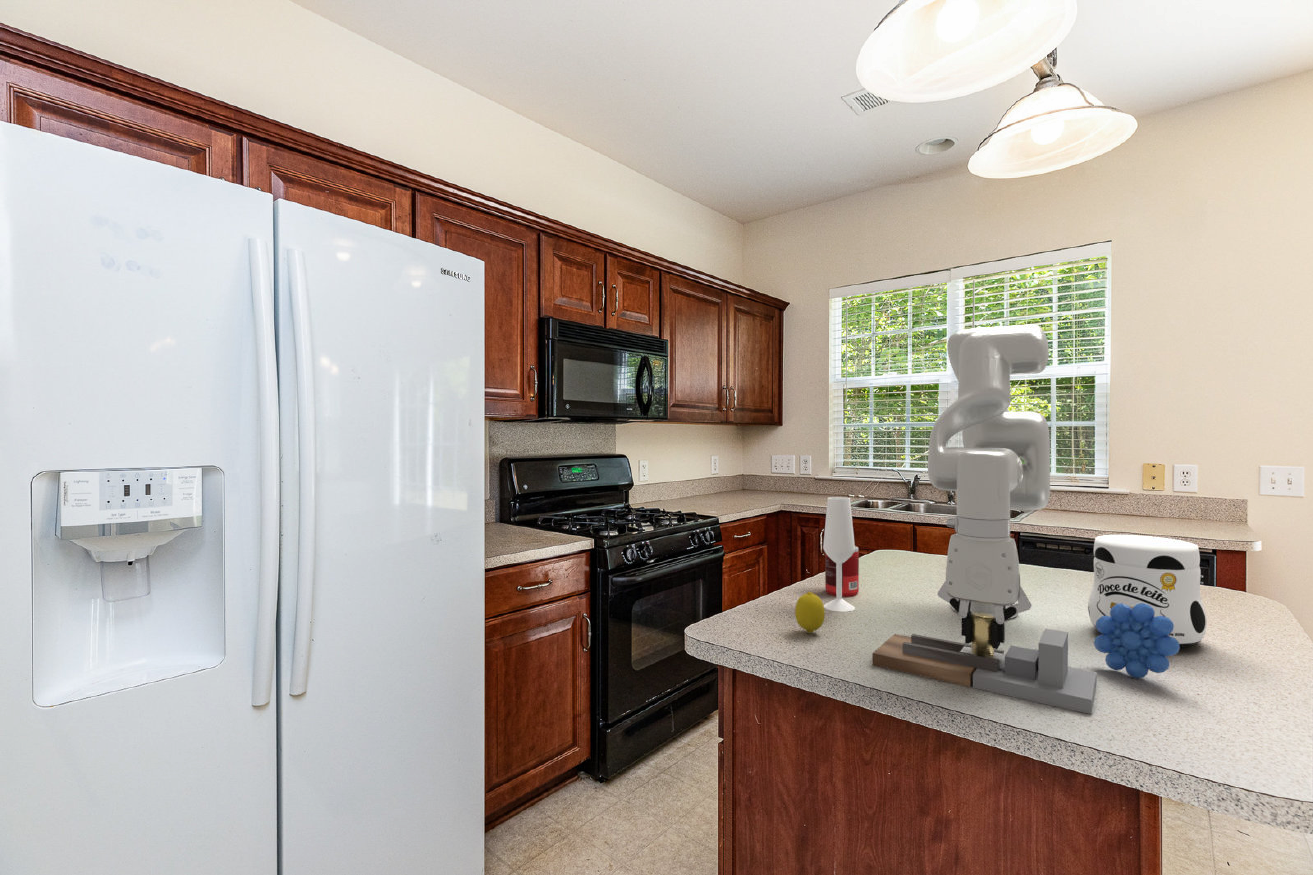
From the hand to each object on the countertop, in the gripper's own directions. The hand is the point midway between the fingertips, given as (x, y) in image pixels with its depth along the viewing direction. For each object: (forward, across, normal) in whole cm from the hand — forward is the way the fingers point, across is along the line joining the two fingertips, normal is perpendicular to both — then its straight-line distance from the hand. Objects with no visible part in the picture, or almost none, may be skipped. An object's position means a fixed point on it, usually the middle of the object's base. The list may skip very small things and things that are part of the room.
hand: (982, 642), depth 99 cm
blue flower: (+5, +20, +14) cm, 25 cm away
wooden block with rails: (+5, -6, 0) cm, 8 cm away
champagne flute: (+5, -32, +23) cm, 40 cm away
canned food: (+6, -36, +35) cm, 51 cm away
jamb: (+5, +7, 0) cm, 9 cm away
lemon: (+5, -30, +3) cm, 31 cm away
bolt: (+3, +2, 0) cm, 4 cm away
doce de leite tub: (+6, +20, +37) cm, 43 cm away
